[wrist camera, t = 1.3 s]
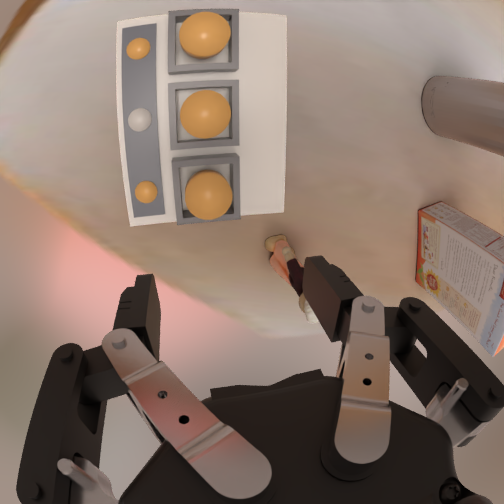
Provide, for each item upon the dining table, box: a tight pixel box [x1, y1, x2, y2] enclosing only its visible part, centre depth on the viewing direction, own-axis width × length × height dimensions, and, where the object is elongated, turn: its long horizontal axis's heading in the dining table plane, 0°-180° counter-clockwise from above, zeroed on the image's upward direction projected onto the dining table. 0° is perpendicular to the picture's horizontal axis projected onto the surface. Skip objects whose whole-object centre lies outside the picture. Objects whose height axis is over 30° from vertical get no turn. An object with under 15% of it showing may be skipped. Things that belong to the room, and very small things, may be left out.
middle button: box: [180, 90, 231, 139], centre depth 22 cm, size 4×4×2 cm
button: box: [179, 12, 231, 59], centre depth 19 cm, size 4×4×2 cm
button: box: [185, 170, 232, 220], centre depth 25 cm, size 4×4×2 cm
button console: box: [116, 9, 287, 226], centre depth 25 cm, size 16×21×5 cm
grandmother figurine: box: [265, 235, 319, 323], centre depth 31 cm, size 8×4×13 cm, turn 40°
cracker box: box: [416, 201, 504, 357], centre depth 33 cm, size 14×6×21 cm, turn 15°
